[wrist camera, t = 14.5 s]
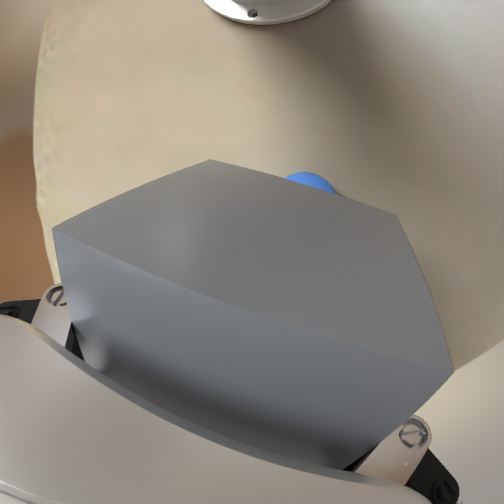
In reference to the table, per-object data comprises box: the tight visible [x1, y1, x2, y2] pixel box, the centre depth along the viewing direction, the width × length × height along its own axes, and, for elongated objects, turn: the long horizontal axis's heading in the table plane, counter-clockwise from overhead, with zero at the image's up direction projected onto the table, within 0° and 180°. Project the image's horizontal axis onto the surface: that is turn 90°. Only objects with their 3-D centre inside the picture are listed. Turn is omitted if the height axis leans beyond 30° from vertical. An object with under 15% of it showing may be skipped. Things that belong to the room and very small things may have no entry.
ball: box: [285, 173, 336, 194], centre depth 21 cm, size 5×5×5 cm
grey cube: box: [52, 160, 454, 470], centre depth 9 cm, size 8×8×8 cm
